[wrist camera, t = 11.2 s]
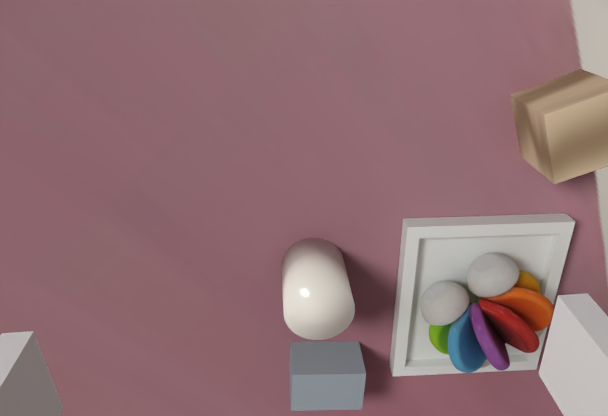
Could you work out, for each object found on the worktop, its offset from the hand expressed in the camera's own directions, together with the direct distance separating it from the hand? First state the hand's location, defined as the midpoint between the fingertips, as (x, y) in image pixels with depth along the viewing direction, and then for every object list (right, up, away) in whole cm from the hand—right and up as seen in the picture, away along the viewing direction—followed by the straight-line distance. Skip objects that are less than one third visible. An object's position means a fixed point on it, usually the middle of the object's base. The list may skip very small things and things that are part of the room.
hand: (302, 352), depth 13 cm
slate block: (+2, -10, +33) cm, 34 cm away
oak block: (+18, +10, +23) cm, 31 cm away
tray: (+14, -4, +30) cm, 33 cm away
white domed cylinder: (+1, -1, +28) cm, 28 cm away
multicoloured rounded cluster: (+14, -4, +30) cm, 33 cm away
